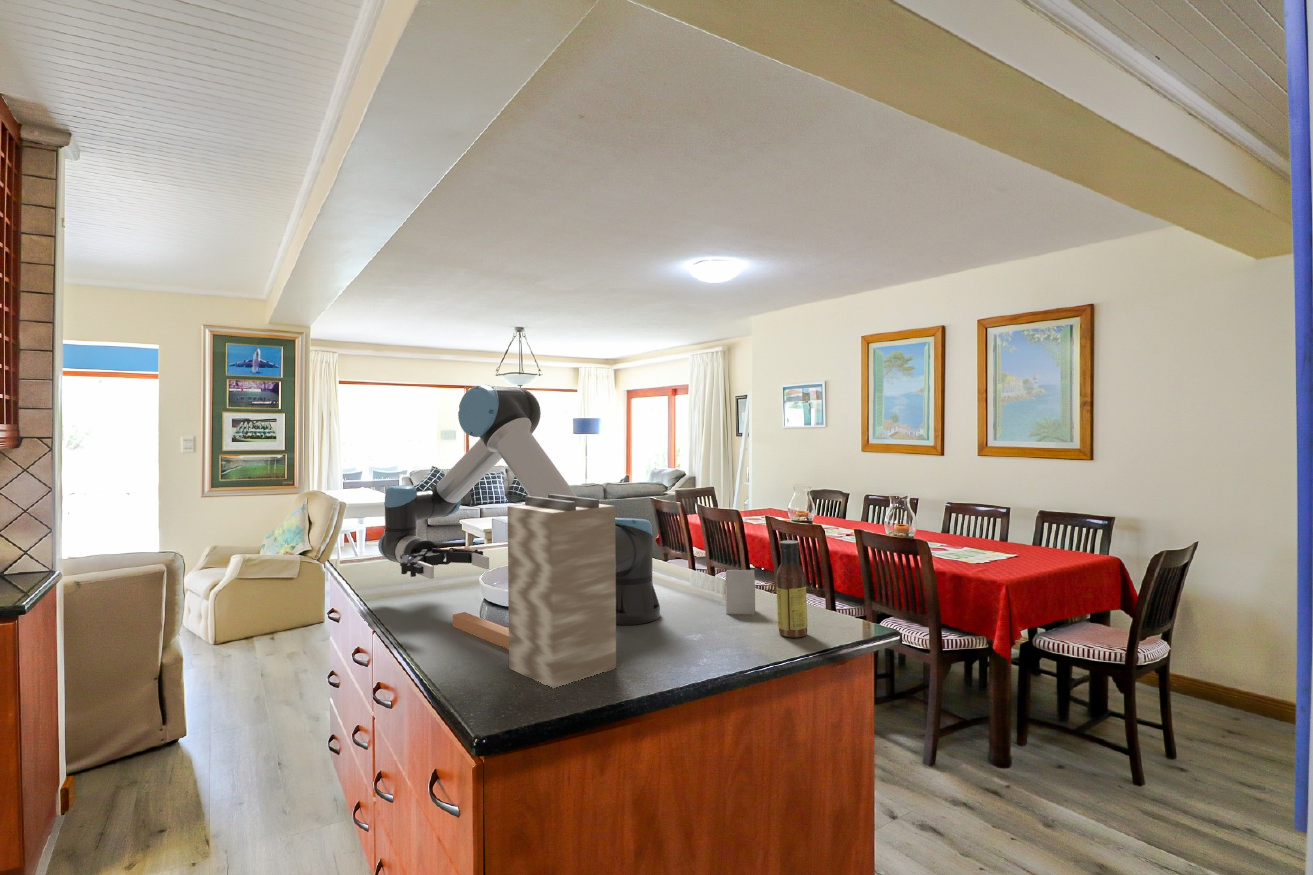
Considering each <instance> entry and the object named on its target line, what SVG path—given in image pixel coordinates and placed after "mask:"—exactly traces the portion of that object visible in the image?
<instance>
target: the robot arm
mask: <svg viewBox="0 0 1313 875" xmlns="http://www.w3.org/2000/svg"><path fill="white" fill-rule="evenodd" d="M457 418H458V424H459V426H460V428H461V429H462V431H463V432H464V434H466V435H469V436H471V437H473V438H479V439H478V440H477V441H476V442H475V443H474V444H473V445H472V446H471V448H470V449H469V450H468V451H466V453H465V454H464V455H463V456H462V457H460V458H459V460H458V461H457V462H456V463H455V464H454V466H452V467H451V469H450V470H448V471H447V473H446V474H445V475H444V476H443V477H442V478H441V479H440V480H439V481H438V482H436V484H435V485H434V486H433V487H432V488H430V489H429V490H421V491H420V490H419V491H417V488H416V487H415V486H413V485H407V484H406V485H390V486H388V487H387V488H386V489H385V495H384V502H383V503H384V533H383V534H382V536H380V539H379V541H378V543H377V544H378V545H377V546H378V547H377V548H378V551H379V553H380V554H381V556H383V557H384V558H386V559H387V560H388V561H389V562H390V561H391V562H394V563H398V564H399V566H400V569H401V570H400V571H401V572H400V573H401V575H407V574H408V572H410V577H411V578H412V577H413V578H415V577H417V575H420V576H422V577H424V578H428V579H431V580H433V579H435V566H438V565H439V566H440V565H446V566H447V565H450V564H452V563H453V564H455V563H456V564H471V565H472V566H474V567H477V568H481V569H485V570H489V569H490V557H489V556H486V555H484V551H483V550H479V549H477V548H476V549H474V550H473V549H465V548H464V549H462V548H461V549H460V548H457V547H456V548H455V547H449V549H446V548H444V549H443V548H439V547H438V546H437V544H436V543H435V542H433V541H432V540H429V539H425V538H423V537H420V536H418V535H417V521H422V520H429V519H435V518H436V519H437V518H445V517H449V516H451V515H454V514H456V513H457V512H458V511H459V510H460V506H461V504H462V499H463V498H464V497H465V496H466V495H467V494H468V493H469V492H470V491H471V490H472V489H473V487H475V485H477V484H478V483H479V482H480V481H481V480H482V479H483V478H484V477H485V476H486V475H487V474H488V473H489V472H490V471H491V470H492V469H493V467H495V466H496V465H497V464H498V462H500V460H503V461H504V463H505V464H506V465H507V467H508V468H509V469H510V471H511V472H512V474H513V476H515V477H514V478H516V480H517V481H518V482H519V483H520V484H519V485H521V487H522V488H523V489H524V491H525V492H526V494H527V496H534V497H542V498H548V494H558V495H566V496H574V497H578V495H577V494H576V493H575V492H574V490H573V489H572V487H571V486H570V485H569V483H568V481H567V480H566V479H565V478H564V476H563V475H562V474H561V472H560V471H559V470H558V468H557V467H556V465H555V464H554V463H553V461H552V460H551V458H550V457H549V456H548V454H547V453H546V452H545V450H544V449H543V447H542V446H541V444H540V443H539V442H538V440H537V439H536V437H534V435H533V433H534V432H535V431H536V429H537V427H538V425H539V423H540V420H541V406H540V403H539V401H538V400H537V398H536V396H534V394H533V393H531V392H530V391H529V390H527V389H525V388H522V387H516V386H515V387H510V386H499V385H497V386H496V385H490V384H484V385H475V386H473V387H471V388H469V389H467V391H466V392H465V393H464V394H463V396H462V397H461V399H460V401H459V406H458V412H457ZM653 533H654V532H653V526H652V523H651V521H650V520H648V519H643V518H633V517H632V518H631V517H630V518H628V517H615V557H616V625H622V626H630V625H631V626H633V625H642V624H647V623H652V622H655V621H657V620H658V619H660V617H661V605H660V603H659V599H658V596H657V593H656V590H655V586H654V584H653V583H654V582H653V537H654V534H653Z"/></svg>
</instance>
